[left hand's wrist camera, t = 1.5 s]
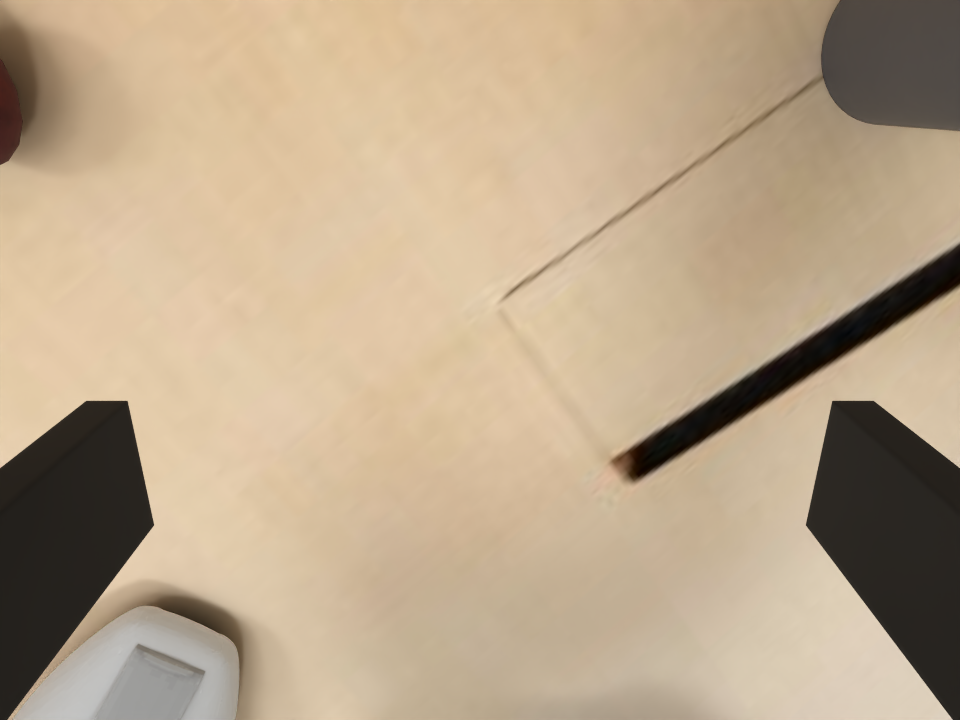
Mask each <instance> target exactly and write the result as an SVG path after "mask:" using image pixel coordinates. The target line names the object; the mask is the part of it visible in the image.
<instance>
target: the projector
mask: <svg viewBox="0 0 960 720" xmlns="http://www.w3.org/2000/svg"><path fill="white" fill-rule="evenodd" d="M238 694H239V657H238V652H237V648H236V646H235V645H234V643H233V642H232V641H231V640H230V639H229V638H227V637H226V636H224V635H223V634H219V633H217V632H215V631H213V630H211V629H209V628H207V627H205V626H203V625H201V624H199V623H197V622H194V621H192V620H190V619H187V618H185V617H182V616H180V615H177V614H174V613H171V612H168V611H165V610H163V609H161V608H158V607H155V606H139V607H136V608H134V609H131V610H129V611H127V612H126V613H124V614H122V615H121V616H119V617H117V618H116V619H114V620H113V621H111V622H110V623H109V624H107V625H106V626H105V627H103V628H102V629H100V630H99V631H98V632H97V633H95V634H94V635H93V636H91V637H90V638H89V639H88V640H86V641H85V642H84V643H83V644H82V645H81V646H79V647H78V648H77V649H76V650H75V651H74V652H72V653H71V654H70V655H69V656H68V657H67V658H66V659H65V660H64V661H63V662H62V663H61V664H60V665H59V666H58V667H57V668H56V669H55V670H54V671H53V672H52V673H51V674H50V675H49V676H48V677H47V678H46V679H45V680H44V681H43V682H42V683H41V684H40V686H39V687H38V688H37V689H36V690H35V691H34V693H33V694H32V695H31V696H30V697H29V699H28V700H27V701H26V702H25V703H24V705H23V706H22V707H21V709H20V710H19V711H18V713H17V714H16V715H15V717H14V718H13V719H12V720H236V712H237V704H238Z"/></svg>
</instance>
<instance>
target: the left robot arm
mask: <svg viewBox="0 0 960 720" xmlns="http://www.w3.org/2000/svg"><path fill="white" fill-rule="evenodd" d="M153 526H154V522H153V518H152V513H151V508H150V504H149V499H148V494H147V490H146V485H145V480H144V476H143V471H142V466H141V462H140V457H139V452H138V448H137V443H136V438H135V434H134V429H133V424H132V420H131V415H130V410H129V406H128V401H86V402H84V403H83V404H82V405H81V406H79V407H78V408H77V409H75V410H74V411H73V412H72V413H70V414H69V415H68V416H67V417H65V418H64V419H63V420H61V421H60V422H59V423H58V424H56V425H55V426H54V427H52V428H51V429H50V430H49V431H47V432H46V433H45V434H43V435H42V436H41V437H40V438H38V439H37V440H36V441H34V442H33V443H32V444H31V445H29V446H28V447H27V448H26V449H24V450H23V451H22V452H20V453H19V454H18V455H17V456H15V457H14V458H13V459H11V460H10V461H9V462H8V463H6V464H5V465H4V466H2V467H1V468H0V720H7V719H8V718H9V717H10V715H11V714H12V713H13V711H14V710H15V709H16V707H17V706H18V705H19V703H20V702H21V701H22V699H23V698H24V697H25V695H26V694H27V693H28V691H29V690H30V689H31V687H32V686H33V685H34V683H35V682H36V681H37V680H38V678H39V677H40V676H41V674H42V673H43V672H44V670H45V669H46V668H47V666H48V665H49V664H50V662H51V661H52V660H53V658H54V657H55V656H56V654H57V653H58V652H59V650H60V649H61V648H62V646H63V645H64V644H65V642H66V641H67V640H68V638H69V637H70V636H71V634H72V633H73V632H74V631H75V629H76V628H77V627H78V625H79V624H80V623H81V621H82V620H83V619H84V617H85V616H86V615H87V613H88V612H89V611H90V609H91V608H92V607H93V605H94V604H95V603H96V601H97V600H98V599H99V597H100V596H101V595H102V593H103V592H104V591H105V589H106V588H107V587H108V585H109V584H110V583H111V582H112V580H113V579H114V578H115V576H116V575H117V574H118V572H119V571H120V570H121V568H122V567H123V566H124V564H125V563H126V562H127V560H128V559H129V558H130V556H131V555H132V554H133V552H134V551H135V550H136V548H137V547H138V546H139V544H140V543H141V542H142V540H143V539H144V538H145V536H146V535H147V534H148V533H149V531H150V530H151V529H152V527H153ZM806 526H807V527H808V529H809V530H810V531H811V533H812V534H813V535H814V536H815V538H816V539H817V540H818V542H819V543H820V544H821V546H822V547H823V548H824V550H825V551H826V552H827V554H828V555H829V556H830V558H831V559H832V560H833V562H834V563H835V564H836V566H837V567H838V568H839V570H840V571H841V572H842V574H843V575H844V576H845V578H846V579H847V580H848V582H849V583H850V584H851V585H852V587H853V588H854V589H855V591H856V592H857V593H858V595H859V596H860V597H861V599H862V600H863V601H864V603H865V604H866V605H867V607H868V608H869V609H870V611H871V612H872V613H873V615H874V616H875V617H876V619H877V620H878V621H879V623H880V624H881V625H882V627H883V628H884V629H885V631H886V632H887V633H888V634H889V636H890V637H891V638H892V640H893V641H894V642H895V644H896V645H897V646H898V648H899V649H900V650H901V652H902V653H903V654H904V656H905V657H906V658H907V660H908V661H909V662H910V664H911V665H912V666H913V668H914V669H915V670H916V672H917V673H918V674H919V676H920V677H921V678H922V680H923V681H924V682H925V683H926V685H927V686H928V687H929V689H930V690H931V691H932V693H933V694H934V695H935V697H936V698H937V699H938V701H939V702H940V703H941V705H942V706H943V707H944V709H945V710H946V711H947V713H948V714H949V715H950V717H951V718H952V719H953V720H960V468H959V467H958V466H956V465H955V464H954V463H952V462H951V461H950V460H949V459H947V458H946V457H945V456H943V455H942V454H941V453H940V452H938V451H937V450H936V449H934V448H933V447H932V446H931V445H929V444H928V443H927V442H926V441H924V440H923V439H922V438H920V437H919V436H918V435H917V434H915V433H914V432H913V431H911V430H910V429H909V428H908V427H906V426H905V425H904V424H902V423H901V422H900V421H899V420H897V419H896V418H895V417H893V416H892V415H891V414H890V413H888V412H887V411H886V410H885V409H883V408H882V407H881V406H879V405H878V404H877V403H876V402H874V401H832V406H831V410H830V415H829V420H828V424H827V429H826V434H825V438H824V443H823V448H822V452H821V457H820V462H819V466H818V471H817V476H816V480H815V485H814V490H813V494H812V499H811V504H810V508H809V513H808V518H807V522H806Z"/></svg>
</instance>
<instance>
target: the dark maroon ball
mask: <svg viewBox="0 0 960 720" xmlns="http://www.w3.org/2000/svg"><path fill="white" fill-rule="evenodd" d="M22 122H23V121H22V116H21V110H20V105H19V100H18V94H17V90H16V88H15V86H14V84H13V82H12V80H11V78H10V76H9V74H8V72H7V70H6V68H5V66H4V64H3V61H2V60H1V59H0V165H1V164H3V163H5V162H7V161H9V159H10V158H11V156H12V155H13V153H14V151H15V150H16V148H17V147H18V145H19V142H20V136H21V129H22Z"/></svg>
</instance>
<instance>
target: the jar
mask: <svg viewBox="0 0 960 720" xmlns="http://www.w3.org/2000/svg"><path fill="white" fill-rule="evenodd" d="M821 57H822V71H823V77H824V80H825V84H826V87H827V89H828V91H829V93H830V95H831V97H832V98H833V100H834V101H835V103H836V104H837V105H838V106H839V107H840V108H841V109H842V110H843V111H844V112H846V113H847V114H848V115H850V116H851V117H853V118H855V119H857V120H860V121H862V122H865V123H870V124H876V125H889V126H902V127H915V128H928V129H941V130H953V131H960V0H841V1H840V2H839V4H838V5H837V7H836V9H835V11H834V12H833V14H832V17H831V19H830V21H829V23H828V26H827V29H826V32H825V36H824V40H823V45H822V56H821Z"/></svg>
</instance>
